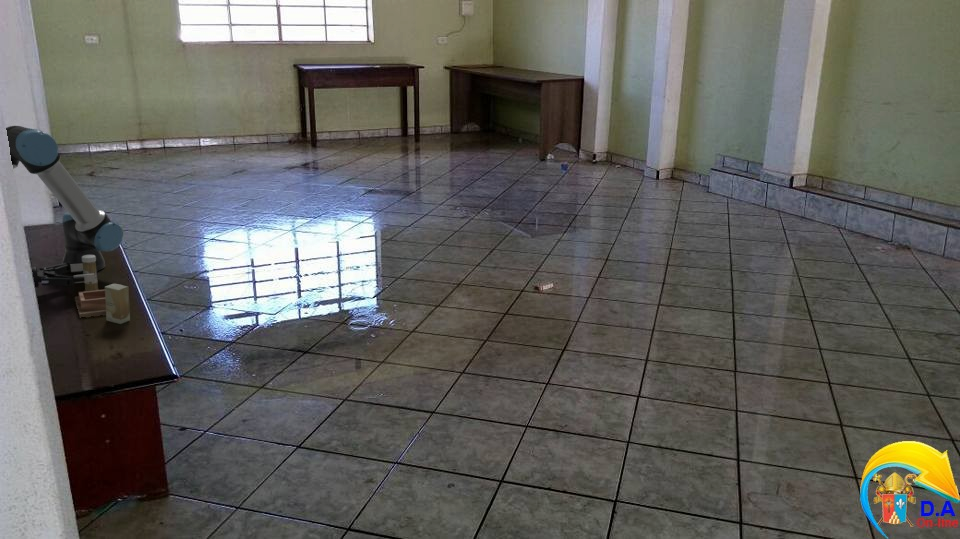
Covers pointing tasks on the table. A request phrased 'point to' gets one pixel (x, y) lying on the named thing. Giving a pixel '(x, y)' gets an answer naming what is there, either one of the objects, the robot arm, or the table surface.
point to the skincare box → (117, 303)
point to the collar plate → (91, 303)
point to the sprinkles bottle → (90, 271)
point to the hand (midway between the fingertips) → (92, 271)
